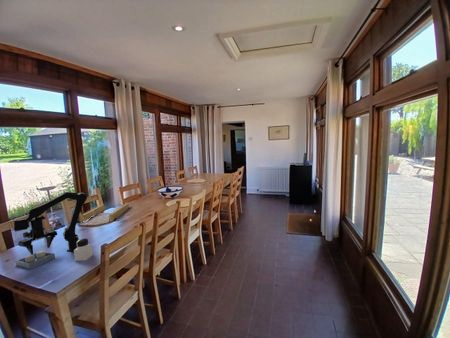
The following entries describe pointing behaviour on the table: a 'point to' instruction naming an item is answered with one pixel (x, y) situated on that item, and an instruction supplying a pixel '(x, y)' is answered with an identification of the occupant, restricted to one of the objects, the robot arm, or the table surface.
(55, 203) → the robot arm
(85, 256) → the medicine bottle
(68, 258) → the table surface
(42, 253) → the pebble
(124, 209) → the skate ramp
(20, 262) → the dish
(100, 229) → the table surface
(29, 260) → the pebble
